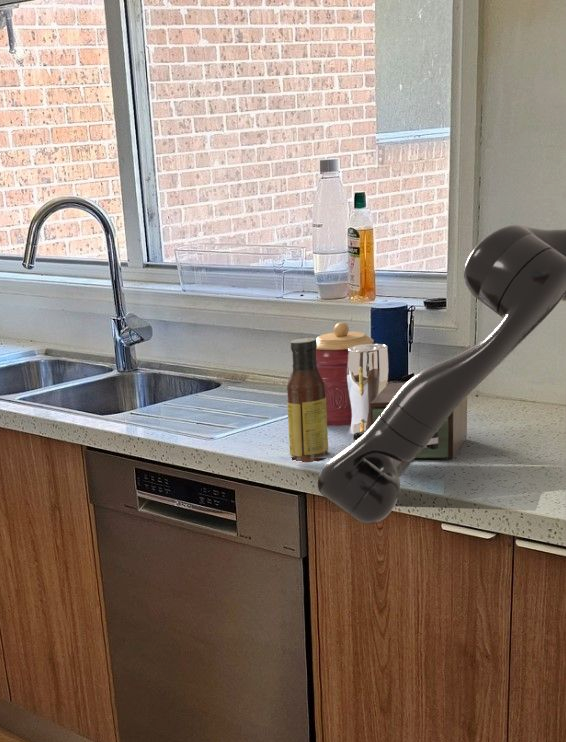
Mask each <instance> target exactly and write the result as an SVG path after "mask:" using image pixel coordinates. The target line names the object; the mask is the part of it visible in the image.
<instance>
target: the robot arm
mask: <svg viewBox="0 0 566 742" xmlns="http://www.w3.org/2000/svg"><path fill="white" fill-rule="evenodd" d="M463 281H464V283H465V287H466V288H467V289H468V291H469V292H470V294H471V295H472V296H473V297H475V298H476V299H477V300H478V301H480V302H481V303H482V304H483V305H485V306H486V307H488V308H489V309H490V310H492V311H493V312H494V313H495V314H497V315H499V316H500V317H501V318H502V320H501V322H499V324H498V325H497V326H496V327H495V328H494V329H493V330H492V332H490V333H489V334H488V335H487V336H486V337H485V338H484V339H482V340H481V341H479V342H478V343H476V344H475V345H474V346H472V347H470V348H468V349H467V350H465V351H462V352H461V353H459V354H457V355H454V356H452V357H450V358H448V359H445V360H442V361H440V362H438V363H436V364H433V365H430V366H429V367H427V368H424V369H423V370H421V371H419V372H418V373H417V374H415V375H414V376H412V377H411V378H410V379H409V380H408V381H406V382H404V383H405V384H404V385H403V386H402V388H401V389H400V390H399V391H398V392H397V394H396V395H395V396H394V398H393V399H392V400H391V402H390V403H389V404H388V405H387V407H386V408H385V409H384V411H383V412H382V413H381V415H380V416H379V417H378V418H377V420H376V421H375V422H374V423H373V424H372V426H371V427H370V428H369V429H368V430H366V431H362V432H357V433H354V435H353V442H352V443H350V444H349V445H348V446H347V447H345V448H344V449H342V450H341V451H340V452H338V453H337V454H335V456H333V457H332V458H330V459H329V460H328V461H327V463H325V464H324V466H323V467H322V468H321V470H320V471H319V474H318V478H317V489H318V492H319V493H320V494H321V495H322V496H323V497H324V498H326V499H327V500H328V501H330V502H331V503H332V504H334V505H335V506H336V507H338V508H339V509H341V510H342V511H343V512H345V513H346V514H348V515H349V516H350V517H352V518H353V519H354V520H355V521H357V522H359V523H361V524H364V525H374V524H377V523H380V522H381V521H383V520H385V519H386V518H387V517H388V516H389V515H390V514H391V512H392V511H393V510H394V508H395V507H396V504H397V502H398V500H399V496H400V492H401V479H400V478H401V477H402V476H403V475H404V473H405V472H406V470H407V469H408V468H409V467H410V465H411V463H413V461H415V458H416V457H417V456H418V454H419V453H420V452H421V451H422V449H423V448H430V449H437V448H438V429H439V428H440V427H441V426H442V424H443V423H444V422H445V421H446V419H447V418H448V417H449V416H450V414H451V413H452V412H453V411H454V410H455V409H456V407H457V406H458V405H459V404H460V403H461V402H462V401H463V400H464V399H465V398H466V397H467V398H468V396H469V395H470V394H471V393H472V392H473V391H474V390H475V389H476V388H477V387H478V386H479V385H480V384H481V383H482V382H483V381H485V379H486V378H487V377H488V376H490V374H491V373H492V372H494V371H495V370H496V369H497V368H498V367H499V366H500V365H501V364H502V363H503V362H504V361H505V360H506V359H507V358H508V357H509V356H510V355H511V354H512V353H513V352H514V351H515V350H516V349H517V348H518V347H519V346H520V345H521V344H522V343H523V342H524V341H525V340H526V339H527V338H528V337H529V336H530V335H531V334H532V333H533V332H534V331H536V329H537V328H538V327H539V326H540V325H541V324H542V323H543V322H544V320H546V319H547V318H548V316H549V315H551V313H552V312H553V311H554V309H555V308H556V307H557V306H558V305H559V304H560V302H561V301H562V302H566V228H565V229H564V228H561V229H541V228H535V227H530V226H526V225H522V224H510V225H506V226H504V227H500V228H499V229H497V230H495V231H493V232H491V233H489V234H488V235H487V236H485V237H484V238H483V239H482V240H481V241H480V242H479V243H478V244H476V246H475V247H474V248H473V250H472V251H471V252H470V254H469V256H468V257H467V260H466V263H465V265H464V271H463Z"/></svg>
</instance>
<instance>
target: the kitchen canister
mask: <svg viewBox="0 0 566 742" xmlns="http://www.w3.org/2000/svg"><path fill="white" fill-rule="evenodd" d="M315 339H316V343H317V347H316V363H317V369H318V371H319V374H320V376H321V378H322V380H323V382H324V387H325V393H326V411H327V426H331V427H332V426H350V423H351V407H350V401H349V395H348V389H347V378H346V369H347V356H348V348H349V347H351V346H355V345H362V344H374V341H375V339H373V338H371V337H370V336H368V335H367V334H366V333H364V332H361V331H350V327H349V325H348V324H347V323H346V322H342V321H341V322H338V323H336V324H335V325H334V328H333V332H330V333H329V332H328V333H324V334H320V335H318V336H317V337H316V338H315Z"/></svg>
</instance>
